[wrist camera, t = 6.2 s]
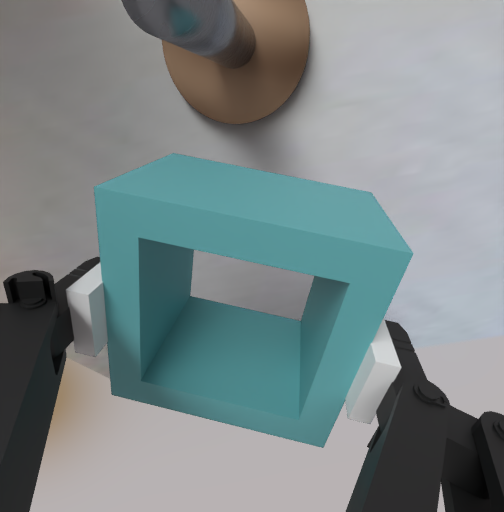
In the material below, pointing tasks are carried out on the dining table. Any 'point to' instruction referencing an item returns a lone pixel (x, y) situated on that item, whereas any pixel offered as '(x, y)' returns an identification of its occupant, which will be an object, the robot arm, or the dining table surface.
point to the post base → (248, 65)
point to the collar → (235, 318)
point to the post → (198, 27)
